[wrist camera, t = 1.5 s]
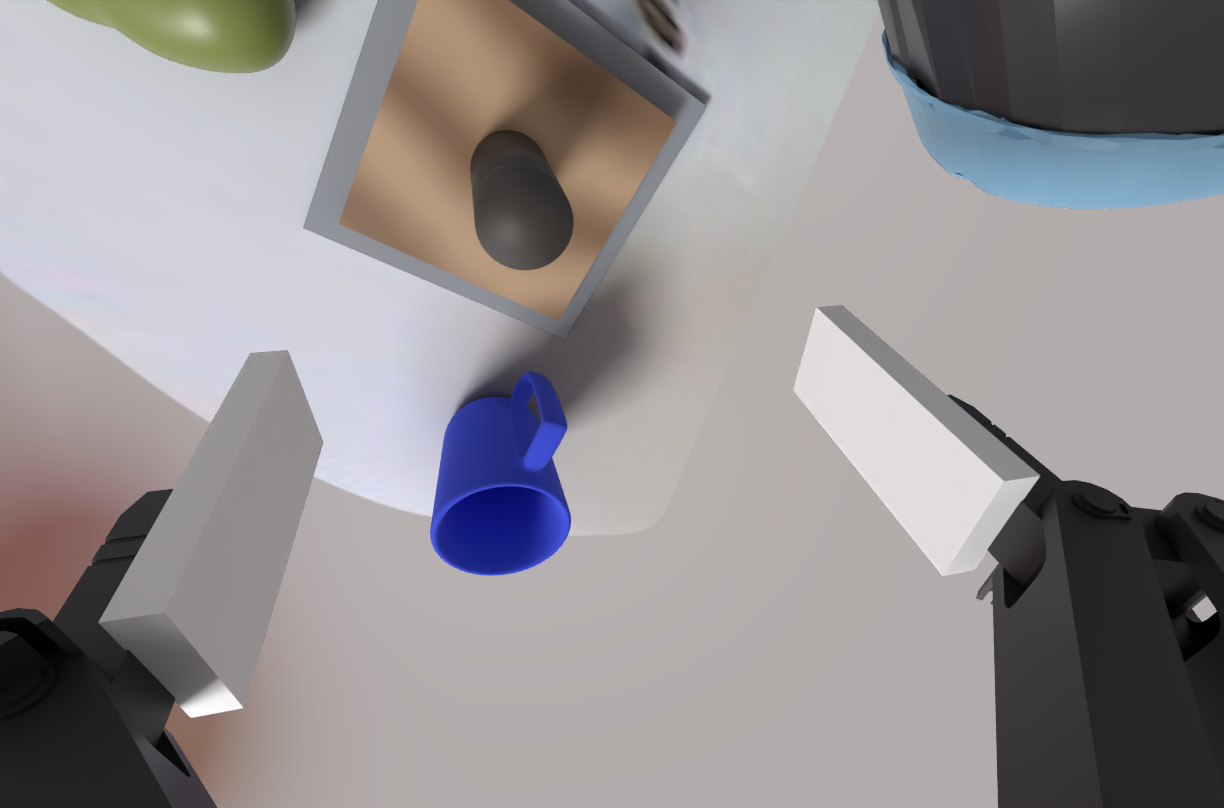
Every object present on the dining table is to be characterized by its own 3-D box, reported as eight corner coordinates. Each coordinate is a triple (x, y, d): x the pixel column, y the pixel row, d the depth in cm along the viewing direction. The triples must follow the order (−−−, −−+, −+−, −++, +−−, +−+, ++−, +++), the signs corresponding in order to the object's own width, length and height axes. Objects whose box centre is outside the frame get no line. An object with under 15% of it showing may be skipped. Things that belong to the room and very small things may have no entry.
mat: (416, -115, 23) (416, -117, 22) (703, 105, 30) (707, 106, 30) (304, 224, 29) (302, 228, 29) (563, 335, 37) (564, 339, 37)
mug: (591, 358, 39) (626, 451, 31) (523, 478, 44) (537, 584, 36) (479, 318, 35) (486, 413, 27) (419, 455, 40) (411, 567, 33)
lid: (437, -51, 24) (430, -67, 17) (670, 117, 30) (737, 159, 23) (342, 216, 29) (305, 290, 22) (555, 312, 35) (581, 395, 28)
